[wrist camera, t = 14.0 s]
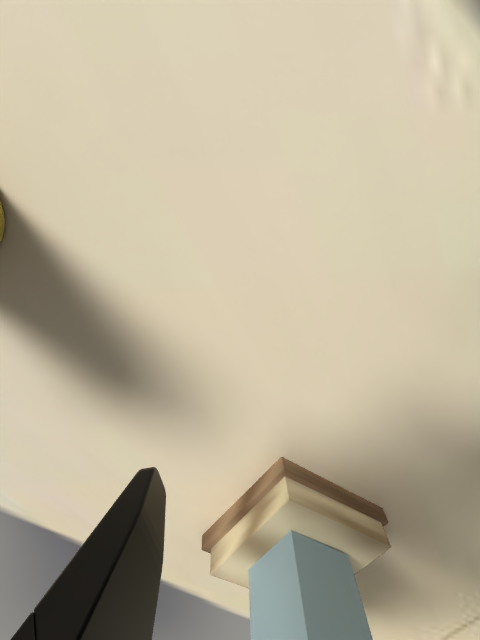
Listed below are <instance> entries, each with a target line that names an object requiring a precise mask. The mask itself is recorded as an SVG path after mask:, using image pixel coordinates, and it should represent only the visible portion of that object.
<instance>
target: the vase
mask: <svg viewBox="0 0 480 640" xmlns="http://www.w3.org/2000/svg"><path fill="white" fill-rule="evenodd" d="M4 225H5V220H4V212H3V208H2V204H1V202H0V242H1V240H2V237H3V233H4Z"/></svg>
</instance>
